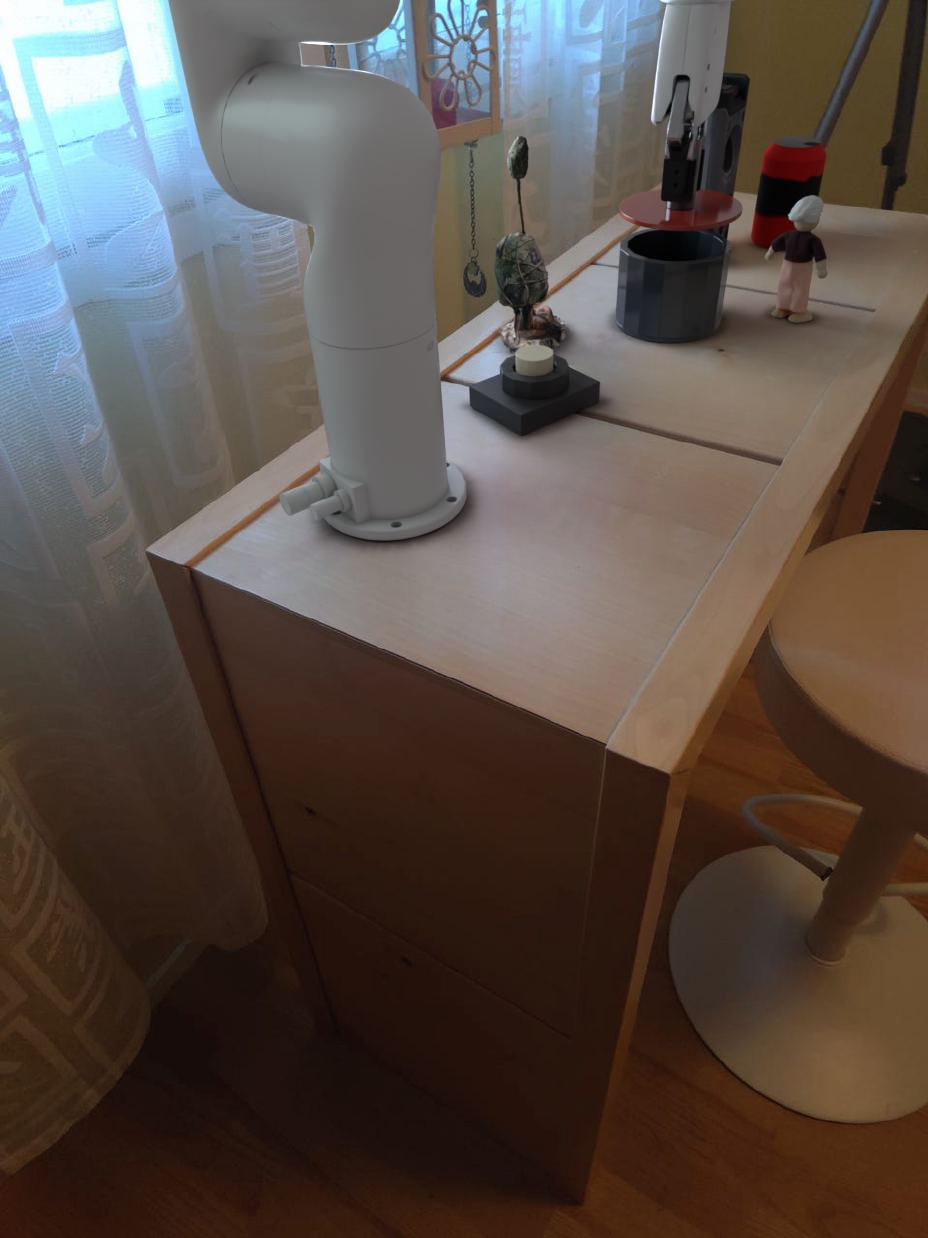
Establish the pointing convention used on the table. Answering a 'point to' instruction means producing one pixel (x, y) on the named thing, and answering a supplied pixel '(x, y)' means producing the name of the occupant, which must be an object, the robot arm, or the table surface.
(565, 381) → the control block
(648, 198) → the lid
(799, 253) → the grandmother figurine
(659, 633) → the table surface
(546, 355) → the button
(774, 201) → the soda can
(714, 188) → the electronic device
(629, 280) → the pot
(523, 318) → the plant with pod
